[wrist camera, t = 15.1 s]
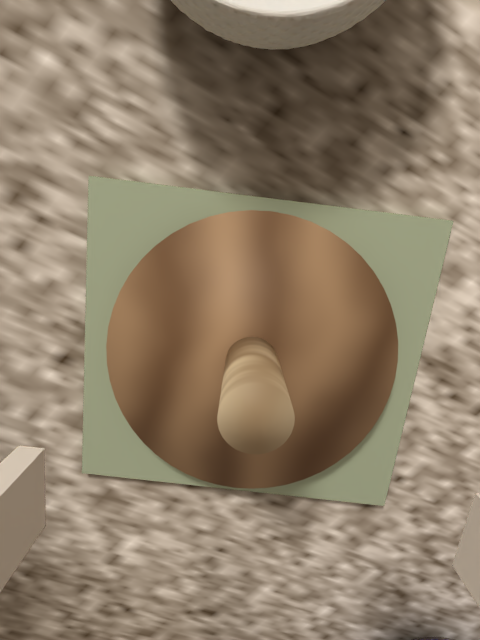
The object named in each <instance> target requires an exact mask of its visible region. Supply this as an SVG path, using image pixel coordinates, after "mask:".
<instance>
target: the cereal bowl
mask: <svg viewBox="0 0 480 640" xmlns="http://www.w3.org/2000/svg"><path fill="white" fill-rule="evenodd" d="M171 1H172V3H173V4H174V5H176V6H177V8H178V9H179V10H180V11H181V12H183V13H185V14H186V15H187V16H188V17H189V18H190V19H191V20H193V21H195V22H196V23H197V24H199V25H201V26H202V27H203V28H204V29H205V30H206V31H209V32H212V33H214V34H215V35H216V36H220V37H222V38H223V39H224V40H230V41H232V42H234V43H239V44H241V45H243V46H250V47H253V48H260V49H271V50H274V49H287V50H288V49H291V48H298V47H305V46H308V45H311V44H316V43H318V42H320V41H324V40H325V39H328V38H331V37H334V36H336V35H337V34H340V33H341V32H344V31H346V30H347V29H349V28H351V27H352V26H354V25H355V24H356V23H358V22H360V21H362V20H364V19H365V18H366V17H367V16H368V15H369V14H370V13H372V12H374V11H375V10H376V9H377V8H379V7H380V6H381V5H382V3H383V2H384V1H386V0H171Z"/></svg>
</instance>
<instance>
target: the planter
mask: <svg viewBox="0 0 480 640" xmlns="http://www.w3.org/2000/svg"><path fill="white" fill-rule="evenodd" d="M413 640H454V639H449V638H441V637H427V638H418V639H413Z"/></svg>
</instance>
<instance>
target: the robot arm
mask: <svg viewBox="0 0 480 640" xmlns="http://www.w3.org/2000/svg"><path fill="white" fill-rule="evenodd" d="M45 526H46V519H45V448H37V447H27V446H18V447H17V448H16V449H15V450H14V451H13V452H11V453H10V454H9V455H8V456H7V457H6V458H5V459H4V460H3V461H2V462H1V463H0V592H1V591H2V589H3V588H4V586H5V585H6V583H7V582H8V580H9V579H10V577H11V576H12V575H13V573H14V572H15V570H16V569H17V567H18V566H19V564H20V563H21V561H22V560H23V558H24V557H25V555H26V554H27V552H28V551H29V549H30V548H31V546H32V545H33V543H34V542H35V540H36V539H37V538H38V536H39V535H40V533H41V532H42V530H43V529H44V527H45ZM452 566H453V567H454V569H455V571H456V572H457V574H458V575H459V577H460V578H461V580H462V581H463V583H464V584H465V586H466V588H467V589H468V591H469V592H470V594H471V595H472V597H473V598H474V600H475V601H476V603H477V605H478V606H479V608H480V494H479V493H475V495H474V498H473V501H472V505H471V508H470V511H469V514H468V517H467V520H466V524H465V527H464V530H463V533H462V536H461V539H460V543H459V546H458V549H457V552H456V555H455V558H454V562H453V565H452Z"/></svg>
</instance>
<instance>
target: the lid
mask: <svg viewBox="0 0 480 640" xmlns="http://www.w3.org/2000/svg"><path fill="white" fill-rule="evenodd" d="M106 352H107V367H108V373H109V379H110V383H111V386H112V389H113V393H114V396H115V399H116V401H117V403H118V405H119V407H120V410H121V412H122V414H123V416H124V417H125V419H126V420H127V422H128V423H129V425H130V427H131V428H132V430H133V431H134V432H135V433H136V434H137V436H138V437H139V438H140V439H141V440H142V442H143V443H144V444H145V445H146V446H147V447H149V448H150V449H151V450H152V451H153V452H154V453H155V454H156V455H157V456H159V457H160V458H161V459H163V460H164V461H165V462H167V463H168V464H170V465H171V466H173V467H175V468H177V469H178V470H180V471H182V472H184V473H185V474H188V475H190V476H193V477H195V478H197V479H200V480H203V481H206V482H210V483H213V484H216V485H221V486H227V487H233V488H249V489H255V488H270V487H276V486H282V485H287V484H291V483H294V482H297V481H301V480H304V479H306V478H308V477H311V476H313V475H315V474H318V473H320V472H322V471H324V470H325V469H327V468H329V467H330V466H332V465H334V464H336V463H337V462H338V461H340V460H341V459H342V458H344V457H345V456H346V455H348V454H349V453H350V452H351V451H352V450H353V449H354V448H355V447H356V446H357V445H358V444H359V443H360V442H361V441H362V440H363V439H364V438H365V437H366V435H367V434H368V433H369V432H370V430H371V429H372V428H373V427H374V425H375V423H376V422H377V420H378V419H379V417H380V415H381V414H382V412H383V410H384V408H385V405H386V403H387V401H388V399H389V397H390V394H391V390H392V387H393V384H394V380H395V376H396V370H397V363H398V336H397V327H396V322H395V318H394V314H393V310H392V306H391V304H390V301H389V299H388V297H387V294H386V292H385V290H384V288H383V286H382V284H381V283H380V281H379V279H378V278H377V276H376V274H375V273H374V271H373V270H372V269H371V267H370V266H369V265H368V264H367V262H366V261H365V260H364V259H363V258H362V256H361V255H360V254H358V253H357V252H356V251H355V250H354V249H353V248H352V247H351V246H350V245H349V244H348V243H346V242H345V241H344V240H342V239H341V238H339V237H338V236H336V235H335V234H334V233H332V232H331V231H329V230H327V229H325V228H323V227H321V226H319V225H317V224H315V223H313V222H311V221H308V220H305V219H302V218H299V217H296V216H293V215H288V214H283V213H278V212H273V211H258V210H246V211H234V212H227V213H223V214H218V215H214V216H209V217H207V218H204V219H201V220H199V221H196V222H193V223H190V224H189V225H187V226H185V227H183V228H181V229H179V230H177V231H176V232H174V233H172V234H171V235H169V236H168V237H166V238H165V239H164V240H162V241H161V242H160V243H158V244H157V245H156V246H155V247H154V248H152V249H151V250H150V251H149V252H148V253H147V254H146V255H145V256H144V257H143V258H142V259H141V260H140V262H139V263H138V264H137V266H136V267H135V268H134V269H133V271H132V272H131V273H130V275H129V276H128V278H127V280H126V281H125V283H124V285H123V287H122V288H121V290H120V292H119V295H118V297H117V300H116V302H115V304H114V307H113V310H112V314H111V318H110V322H109V326H108V334H107V343H106Z"/></svg>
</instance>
